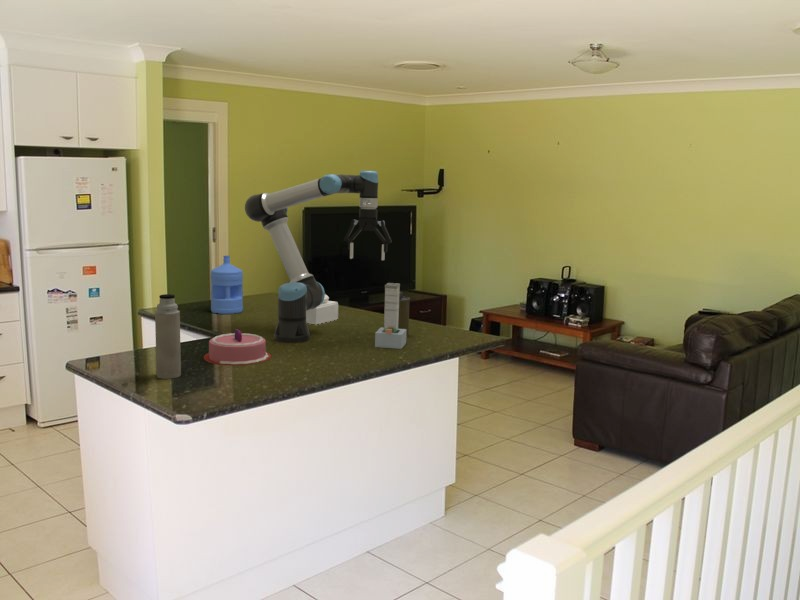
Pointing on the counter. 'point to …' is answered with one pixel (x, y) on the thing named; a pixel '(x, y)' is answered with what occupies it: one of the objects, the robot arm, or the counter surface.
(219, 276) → the water jug
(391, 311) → the column
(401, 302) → the canister
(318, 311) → the white box
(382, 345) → the stand base
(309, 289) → the robot arm
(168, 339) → the thermos bottle
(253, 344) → the cake
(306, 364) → the counter surface
